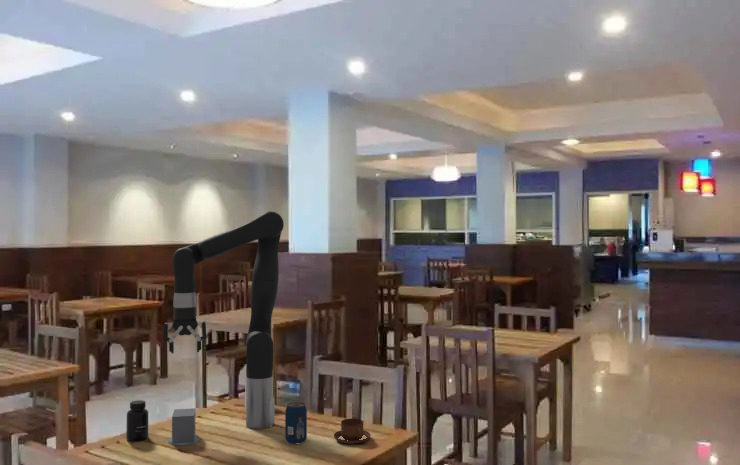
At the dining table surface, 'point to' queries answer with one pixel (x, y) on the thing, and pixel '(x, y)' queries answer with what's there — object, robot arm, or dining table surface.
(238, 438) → the dining table surface
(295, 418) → the soda can
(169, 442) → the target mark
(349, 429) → the rectangular block and saucer
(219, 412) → the dining table surface
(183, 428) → the rectangular block
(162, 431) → the dining table surface
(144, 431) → the supplement bottle
